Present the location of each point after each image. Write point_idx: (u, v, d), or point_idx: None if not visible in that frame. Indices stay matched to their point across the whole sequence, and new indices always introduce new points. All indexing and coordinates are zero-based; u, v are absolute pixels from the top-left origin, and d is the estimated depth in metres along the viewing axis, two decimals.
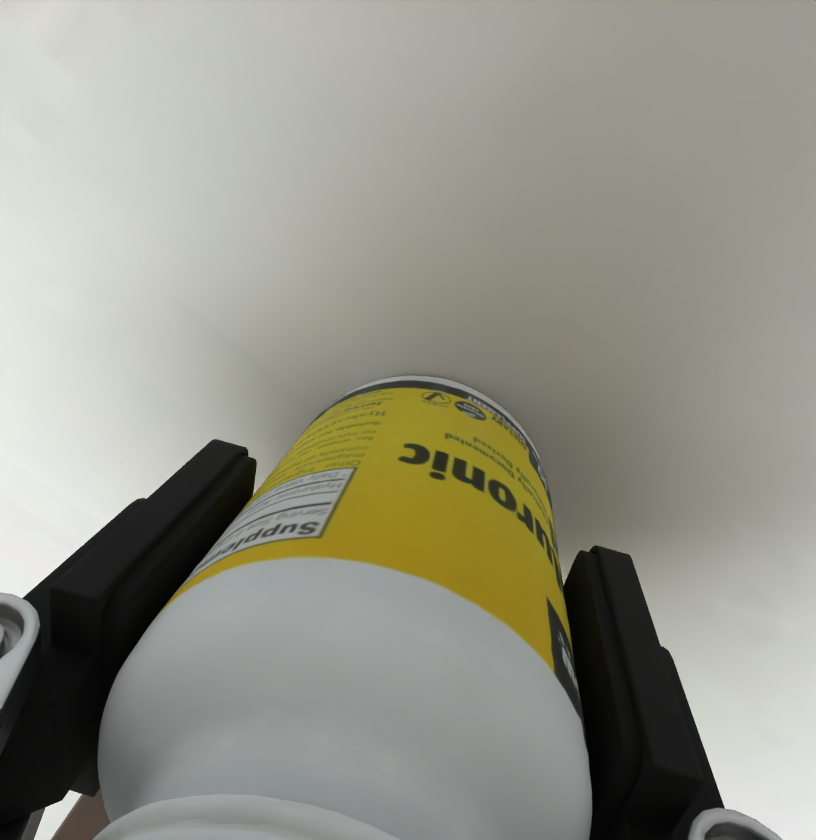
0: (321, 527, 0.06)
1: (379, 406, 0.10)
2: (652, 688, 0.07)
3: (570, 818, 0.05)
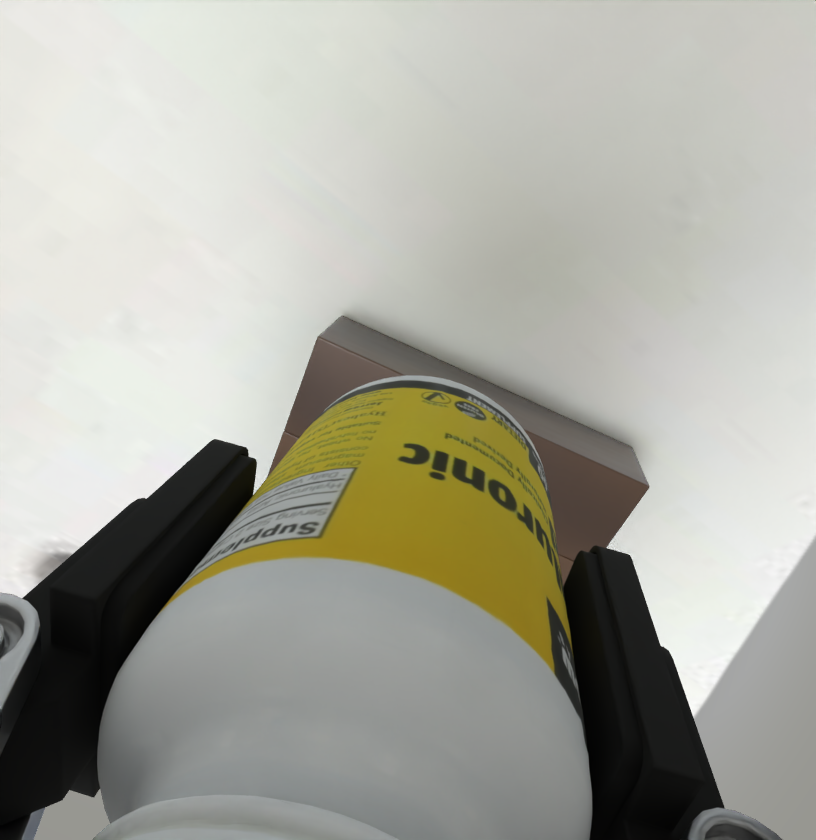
0: (322, 527, 0.06)
1: (379, 406, 0.10)
2: (652, 688, 0.07)
3: (570, 819, 0.05)
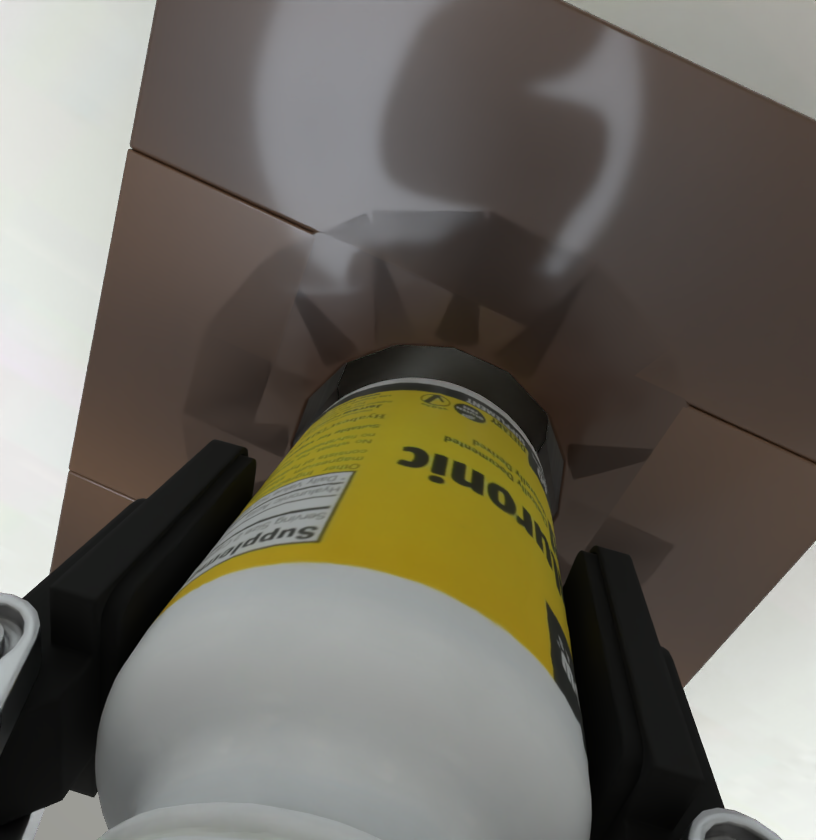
0: (319, 532, 0.06)
1: (378, 408, 0.10)
2: (652, 688, 0.07)
3: (569, 824, 0.05)
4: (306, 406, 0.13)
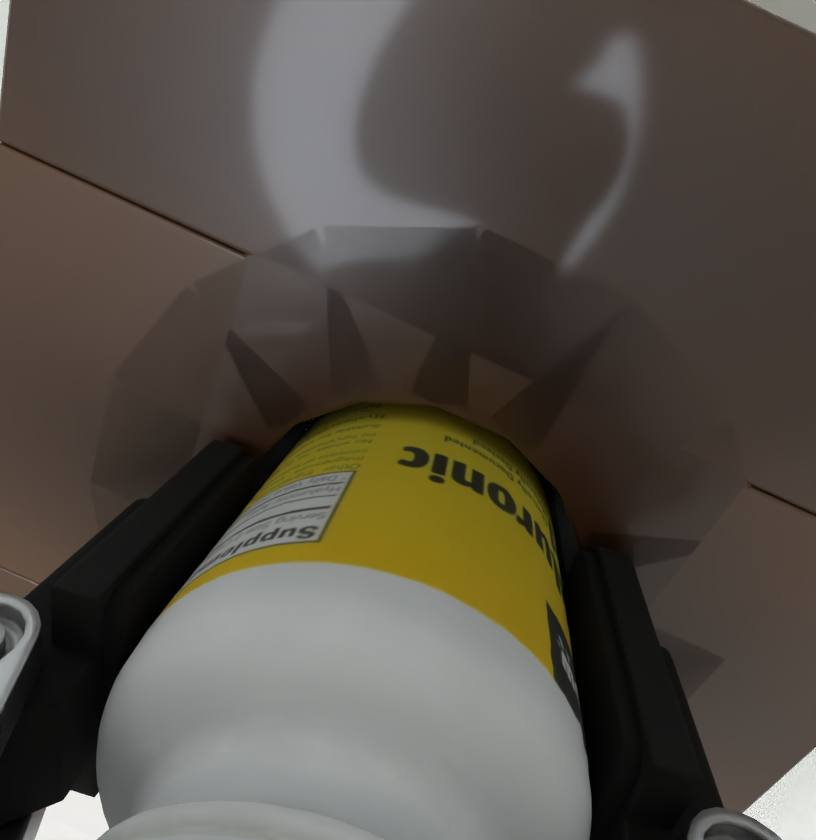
0: (321, 531, 0.06)
1: (378, 408, 0.10)
2: (651, 688, 0.07)
3: (569, 823, 0.05)
4: None
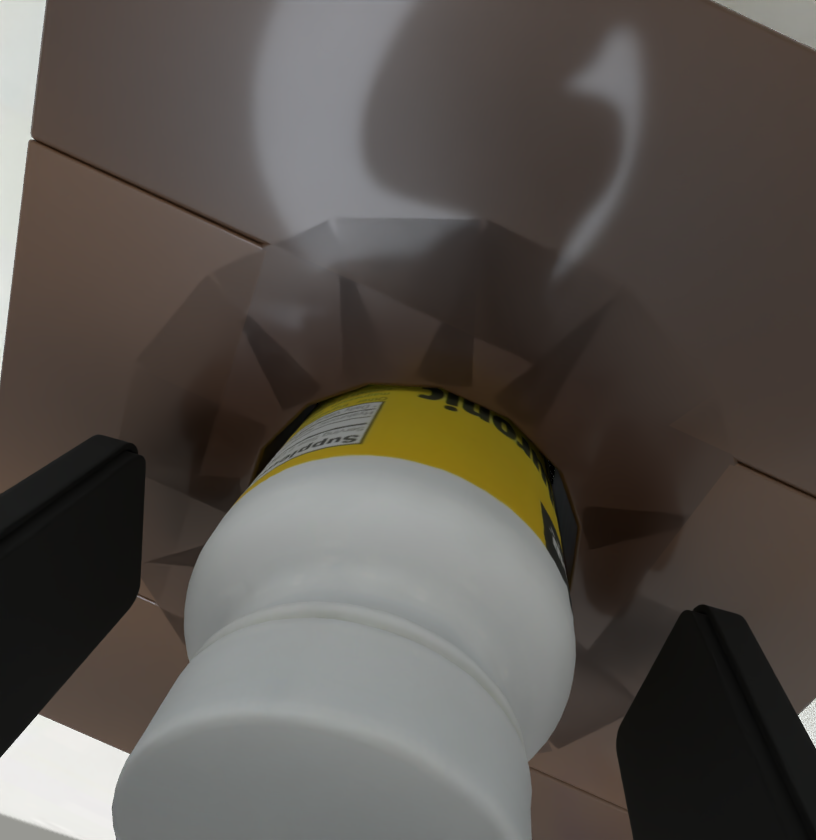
0: (361, 437, 0.08)
1: None
2: None
3: (557, 649, 0.07)
4: (262, 456, 0.11)
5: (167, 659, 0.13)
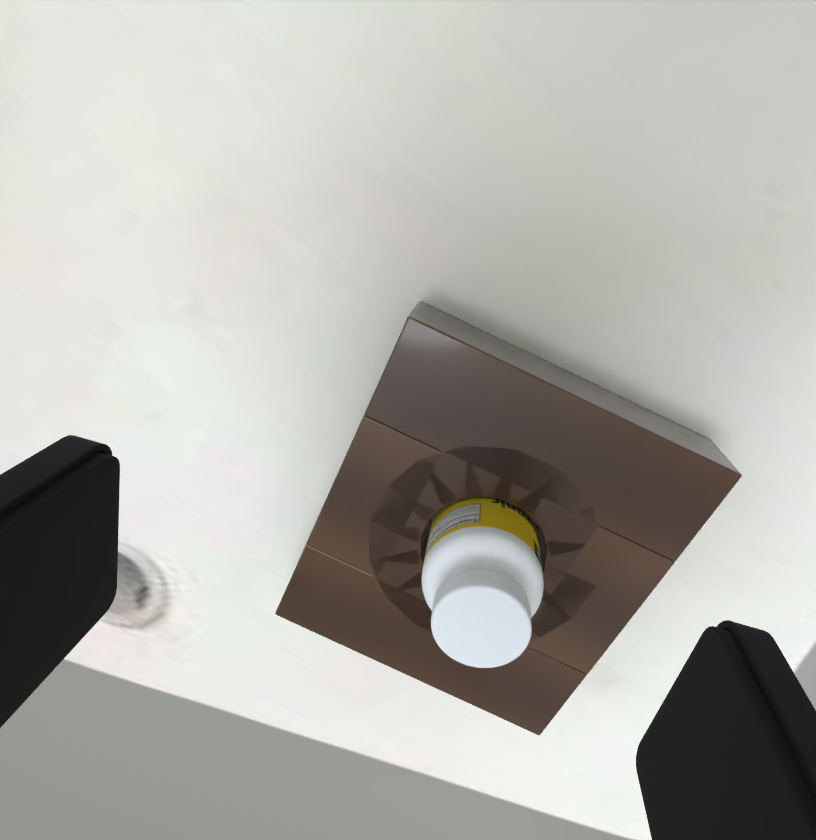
0: (478, 519, 0.26)
1: None
2: None
3: (538, 582, 0.25)
4: (430, 520, 0.28)
5: (375, 601, 0.30)
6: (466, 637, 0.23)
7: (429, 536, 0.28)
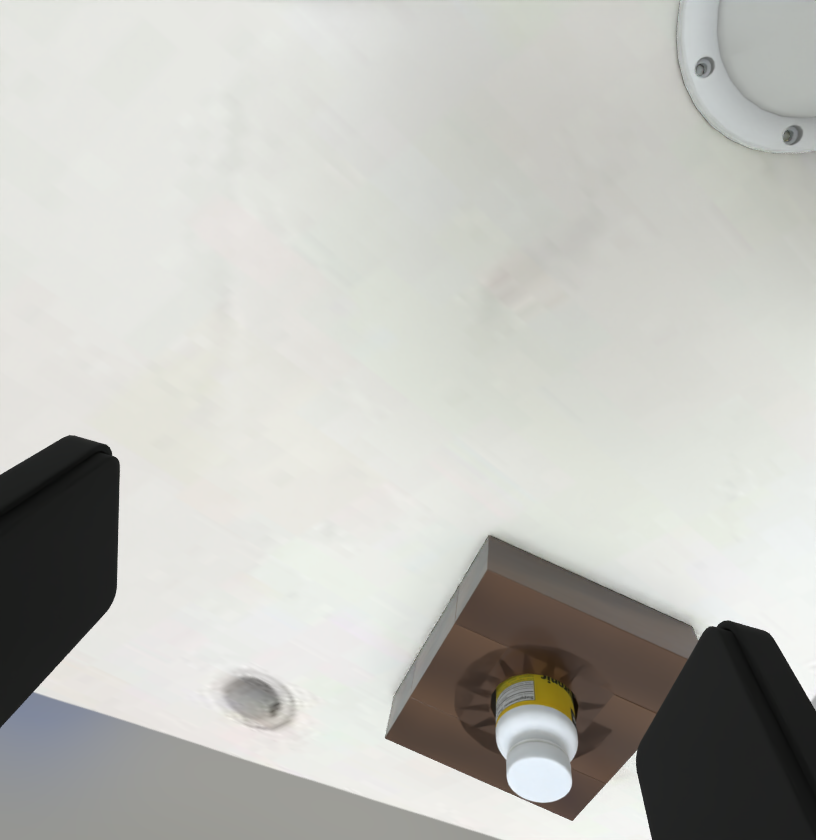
0: (534, 697, 0.39)
1: None
2: None
3: (574, 743, 0.38)
4: (497, 685, 0.41)
5: (457, 733, 0.44)
6: (529, 785, 0.36)
7: (498, 698, 0.41)
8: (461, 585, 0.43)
